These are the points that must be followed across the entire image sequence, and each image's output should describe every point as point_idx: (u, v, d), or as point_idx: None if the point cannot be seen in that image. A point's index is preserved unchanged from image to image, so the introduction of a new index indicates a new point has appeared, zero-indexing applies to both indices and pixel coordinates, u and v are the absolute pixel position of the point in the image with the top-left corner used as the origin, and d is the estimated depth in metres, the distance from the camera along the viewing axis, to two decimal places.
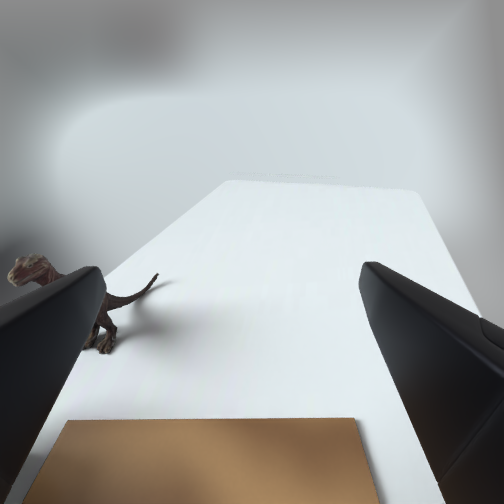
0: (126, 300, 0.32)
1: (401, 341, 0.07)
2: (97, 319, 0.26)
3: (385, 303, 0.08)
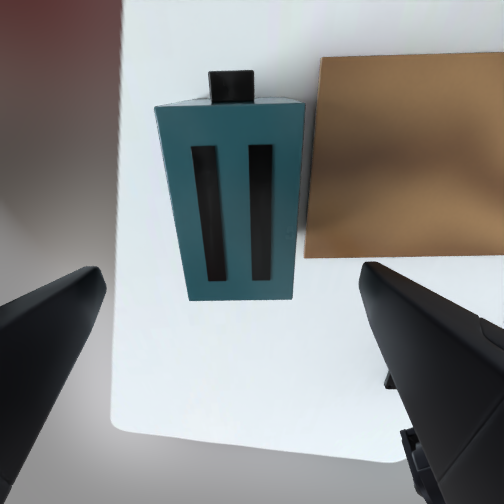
0: None
1: (401, 341, 0.07)
2: None
3: (385, 303, 0.08)
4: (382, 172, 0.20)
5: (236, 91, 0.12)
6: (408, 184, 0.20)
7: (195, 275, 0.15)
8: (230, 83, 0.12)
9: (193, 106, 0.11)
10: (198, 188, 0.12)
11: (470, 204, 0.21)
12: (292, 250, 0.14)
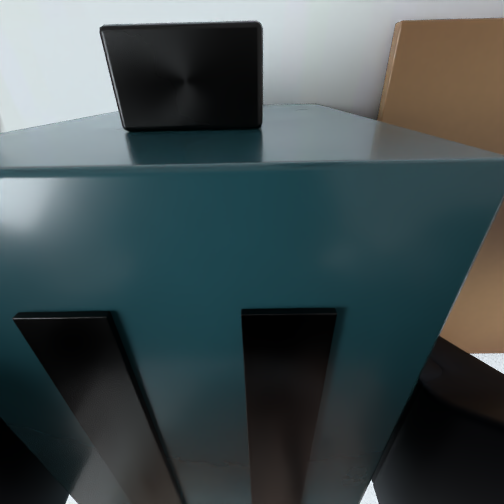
0: None
1: None
2: None
3: None
4: None
5: (203, 96, 0.04)
6: None
7: None
8: (181, 69, 0.04)
9: None
10: (84, 407, 0.04)
11: None
12: (355, 498, 0.06)
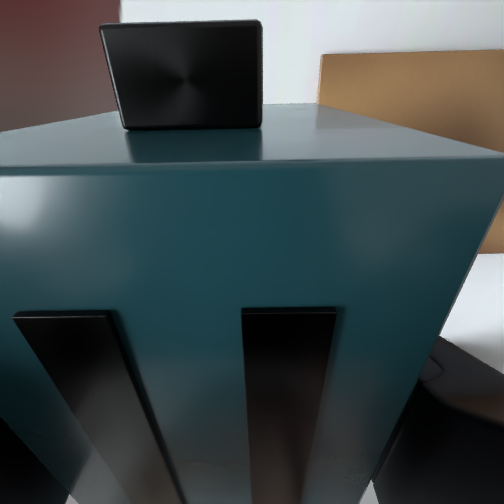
0: None
1: None
2: None
3: None
4: None
5: (202, 96, 0.04)
6: None
7: None
8: (181, 68, 0.04)
9: None
10: (84, 407, 0.04)
11: None
12: (356, 497, 0.06)
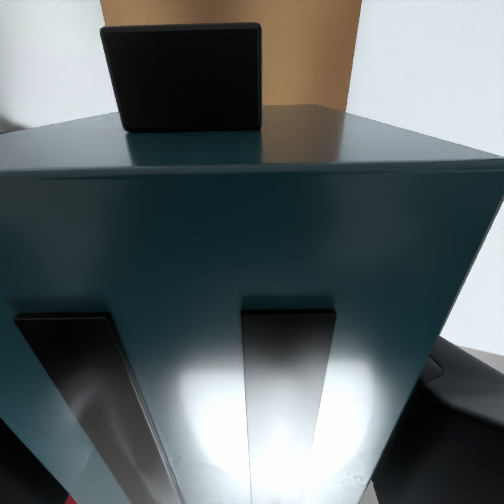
0: None
1: None
2: None
3: None
4: None
5: (202, 98, 0.04)
6: None
7: None
8: (181, 71, 0.04)
9: None
10: (84, 409, 0.04)
11: None
12: (355, 498, 0.06)
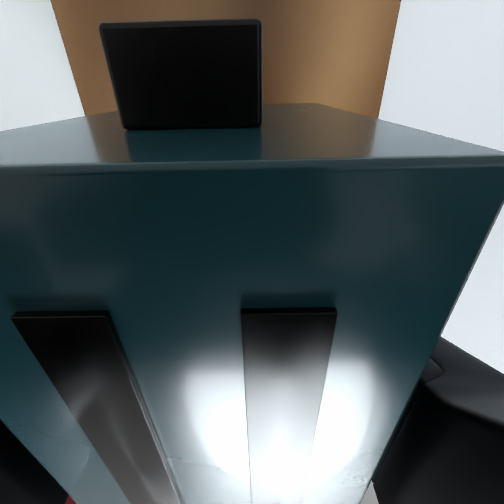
0: None
1: None
2: None
3: None
4: None
5: (202, 95, 0.04)
6: None
7: None
8: (180, 67, 0.03)
9: None
10: (83, 408, 0.04)
11: None
12: (356, 498, 0.06)
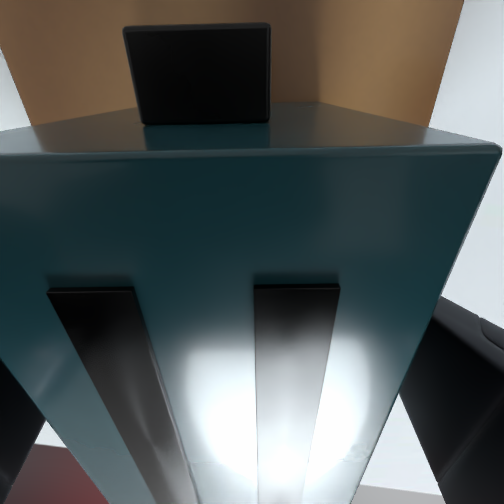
0: None
1: None
2: None
3: None
4: None
5: (215, 92, 0.04)
6: None
7: (133, 503, 0.07)
8: (196, 67, 0.04)
9: (20, 158, 0.03)
10: (104, 382, 0.04)
11: None
12: (357, 475, 0.06)
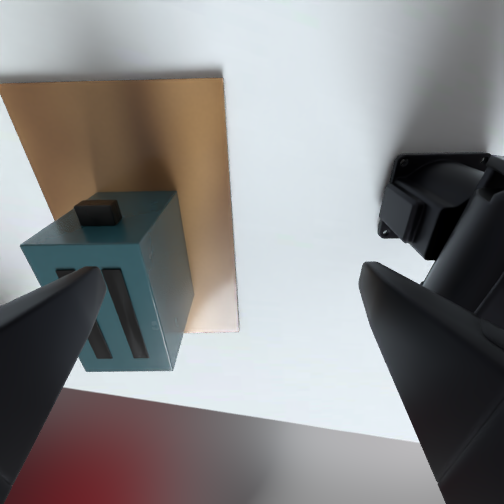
0: None
1: (401, 341, 0.07)
2: None
3: (385, 303, 0.08)
4: None
5: (99, 219, 0.15)
6: None
7: (86, 354, 0.18)
8: (93, 214, 0.15)
9: (50, 244, 0.14)
10: None
11: None
12: (161, 337, 0.17)
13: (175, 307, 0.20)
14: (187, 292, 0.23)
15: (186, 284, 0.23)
